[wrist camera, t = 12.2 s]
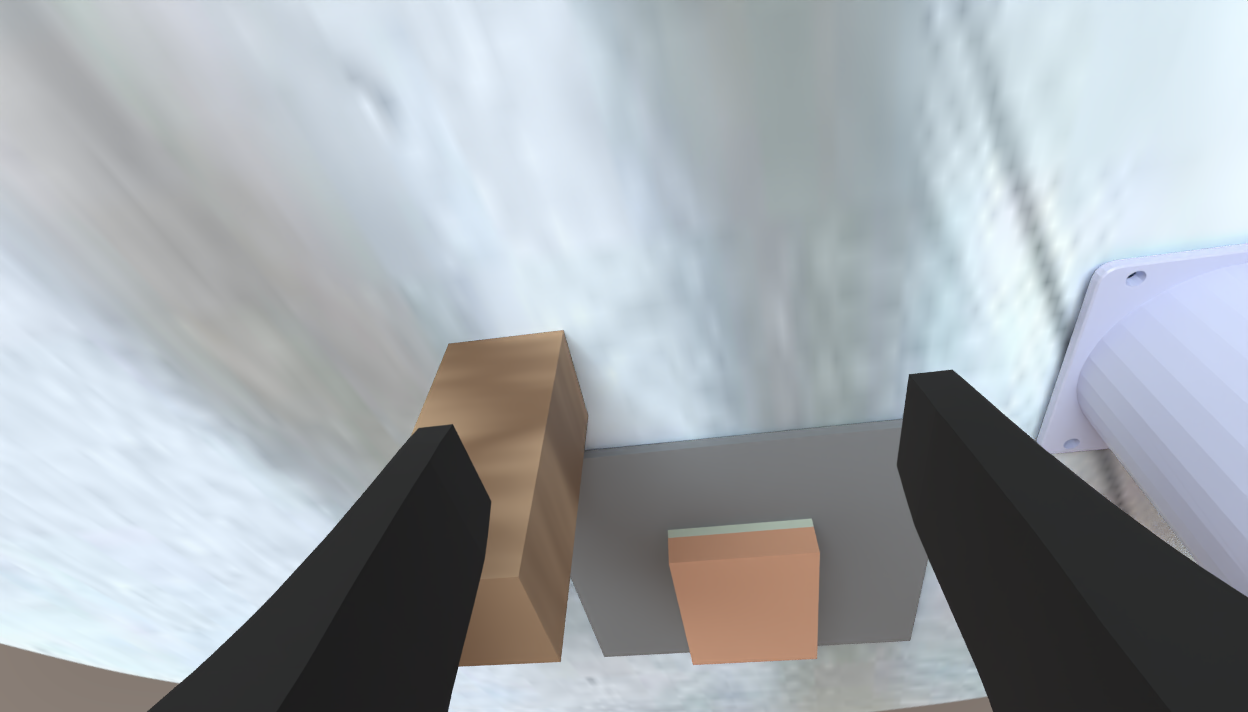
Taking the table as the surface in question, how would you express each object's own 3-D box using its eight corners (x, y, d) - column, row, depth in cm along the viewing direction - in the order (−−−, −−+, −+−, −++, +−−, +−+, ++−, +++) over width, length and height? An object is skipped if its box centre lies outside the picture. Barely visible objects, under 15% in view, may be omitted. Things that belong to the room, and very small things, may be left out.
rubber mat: (953, 413, 22) (957, 422, 22) (907, 633, 32) (910, 640, 32) (524, 456, 25) (523, 464, 24) (604, 649, 34) (604, 656, 34)
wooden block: (563, 330, 21) (517, 576, 14) (588, 415, 23) (560, 661, 16) (448, 343, 21) (348, 587, 14) (484, 425, 24) (415, 668, 17)
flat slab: (819, 552, 25) (816, 658, 30) (811, 518, 26) (810, 626, 31) (668, 563, 25) (693, 664, 31) (667, 529, 27) (691, 633, 32)
